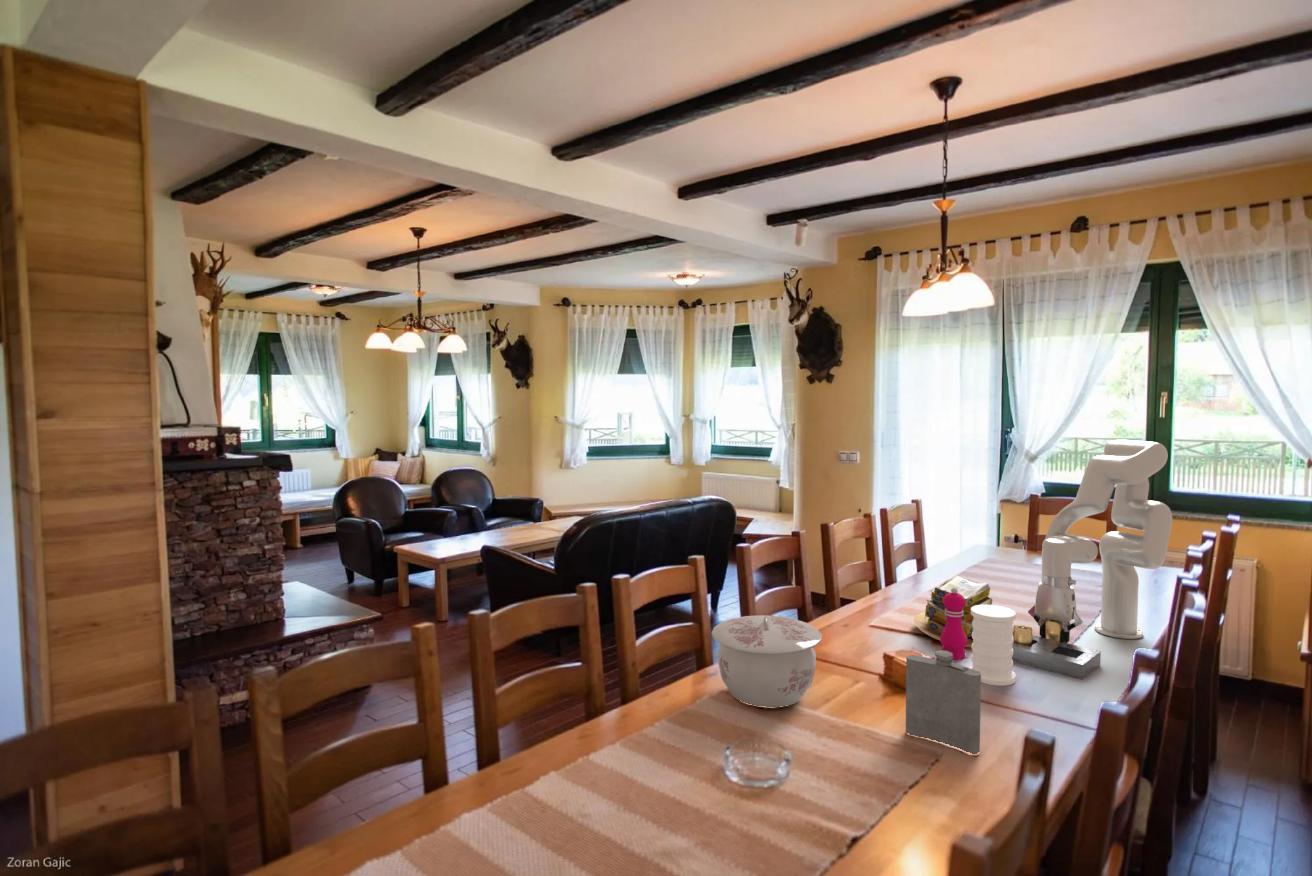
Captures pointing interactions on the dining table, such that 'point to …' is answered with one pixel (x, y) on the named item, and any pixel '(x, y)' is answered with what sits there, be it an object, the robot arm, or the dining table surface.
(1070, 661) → the jig
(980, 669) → the decorative container
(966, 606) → the stacked packages on plate
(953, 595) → the pepper mill
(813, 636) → the chamber pot
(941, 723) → the hip flask
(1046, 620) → the bushing
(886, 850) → the dining table surface
